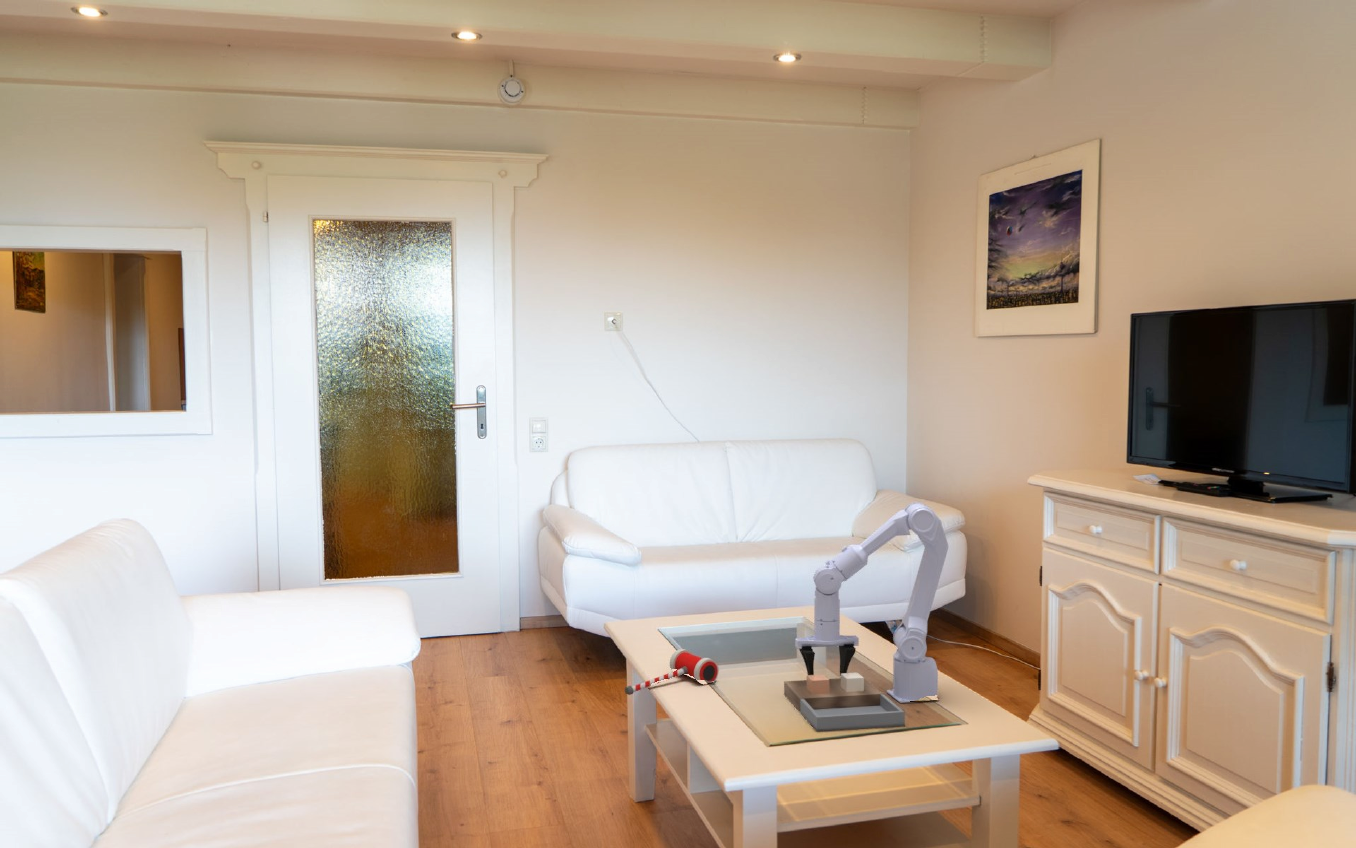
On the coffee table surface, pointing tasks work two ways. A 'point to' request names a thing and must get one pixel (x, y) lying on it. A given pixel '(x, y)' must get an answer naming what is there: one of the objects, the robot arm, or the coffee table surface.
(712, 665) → the toy hammer
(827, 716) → the box
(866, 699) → the dark wooden platform
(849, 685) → the tile cream
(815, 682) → the terracotta pink block
